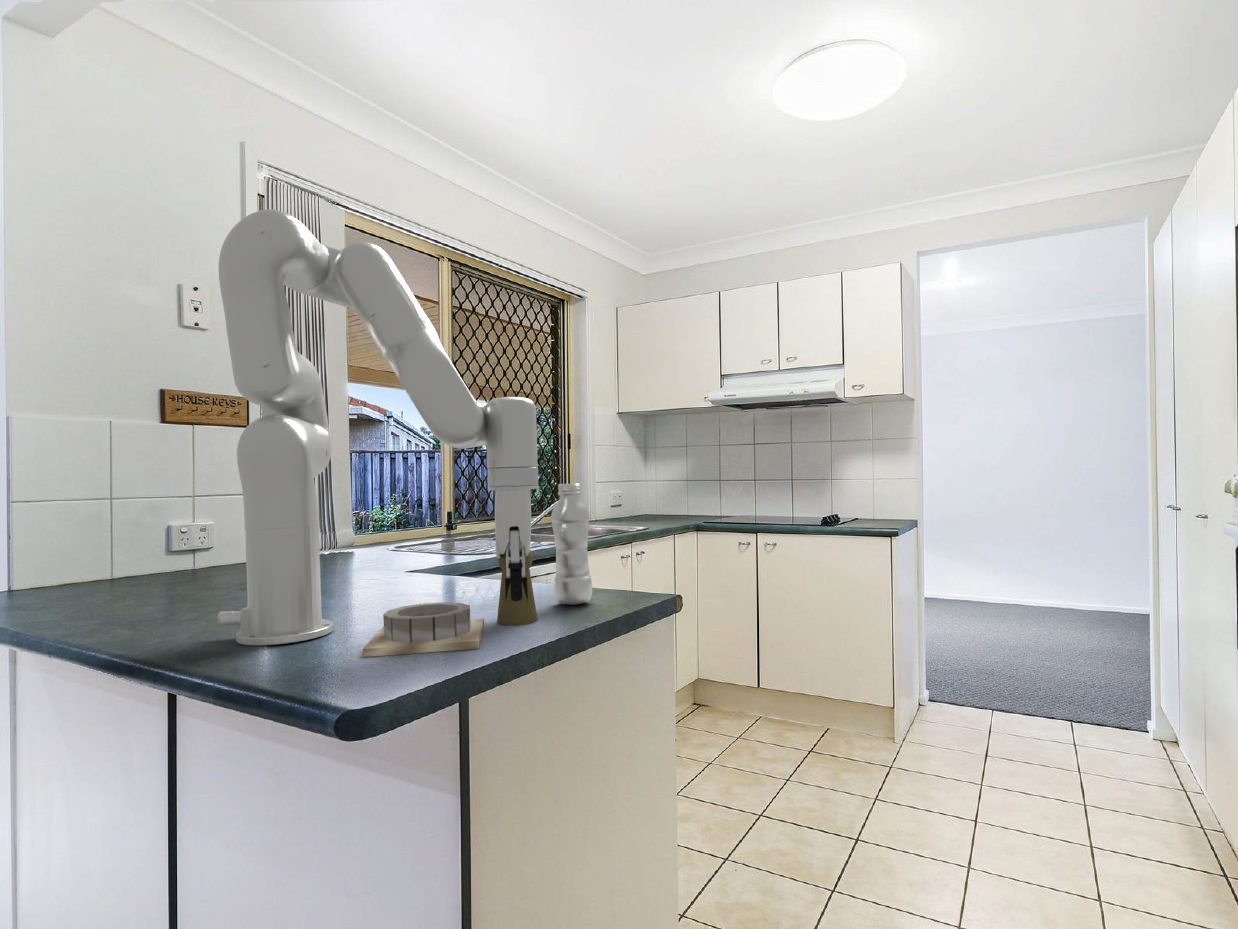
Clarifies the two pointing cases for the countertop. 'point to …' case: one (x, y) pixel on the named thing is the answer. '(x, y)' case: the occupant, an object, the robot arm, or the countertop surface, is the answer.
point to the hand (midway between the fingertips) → (517, 601)
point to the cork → (516, 610)
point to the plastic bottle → (571, 547)
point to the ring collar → (426, 630)
